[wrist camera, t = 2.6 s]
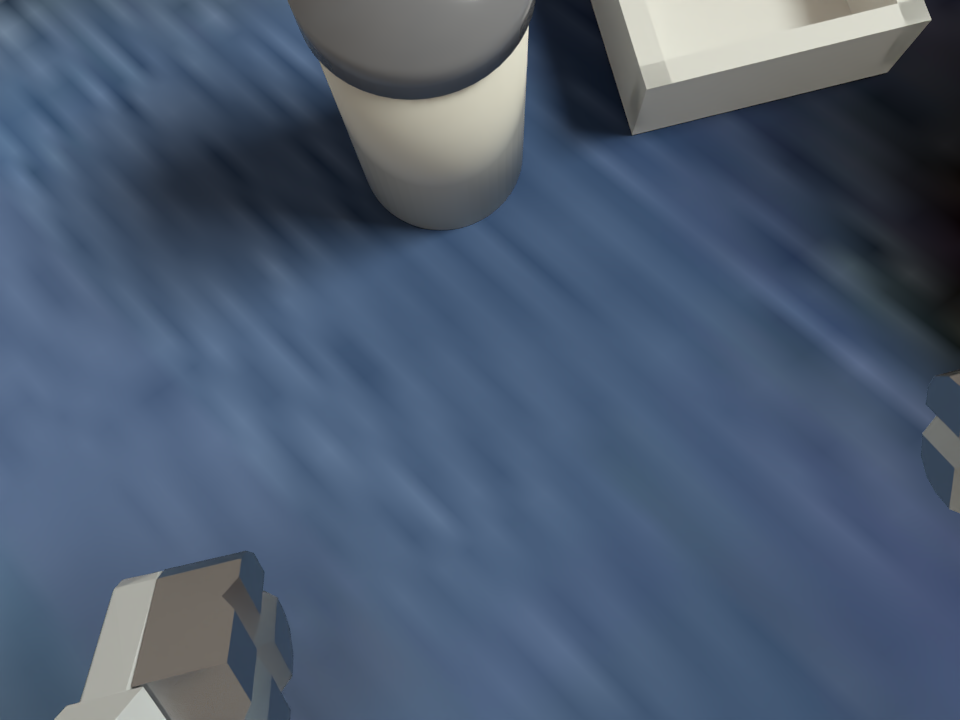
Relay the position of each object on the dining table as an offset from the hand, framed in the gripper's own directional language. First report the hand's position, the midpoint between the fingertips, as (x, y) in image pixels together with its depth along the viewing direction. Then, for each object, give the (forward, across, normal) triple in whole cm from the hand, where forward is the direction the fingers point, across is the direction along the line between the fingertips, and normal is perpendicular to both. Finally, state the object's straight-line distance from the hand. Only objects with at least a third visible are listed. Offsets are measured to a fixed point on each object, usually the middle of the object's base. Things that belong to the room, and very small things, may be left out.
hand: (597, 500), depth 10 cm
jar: (+21, 0, +3) cm, 21 cm away
